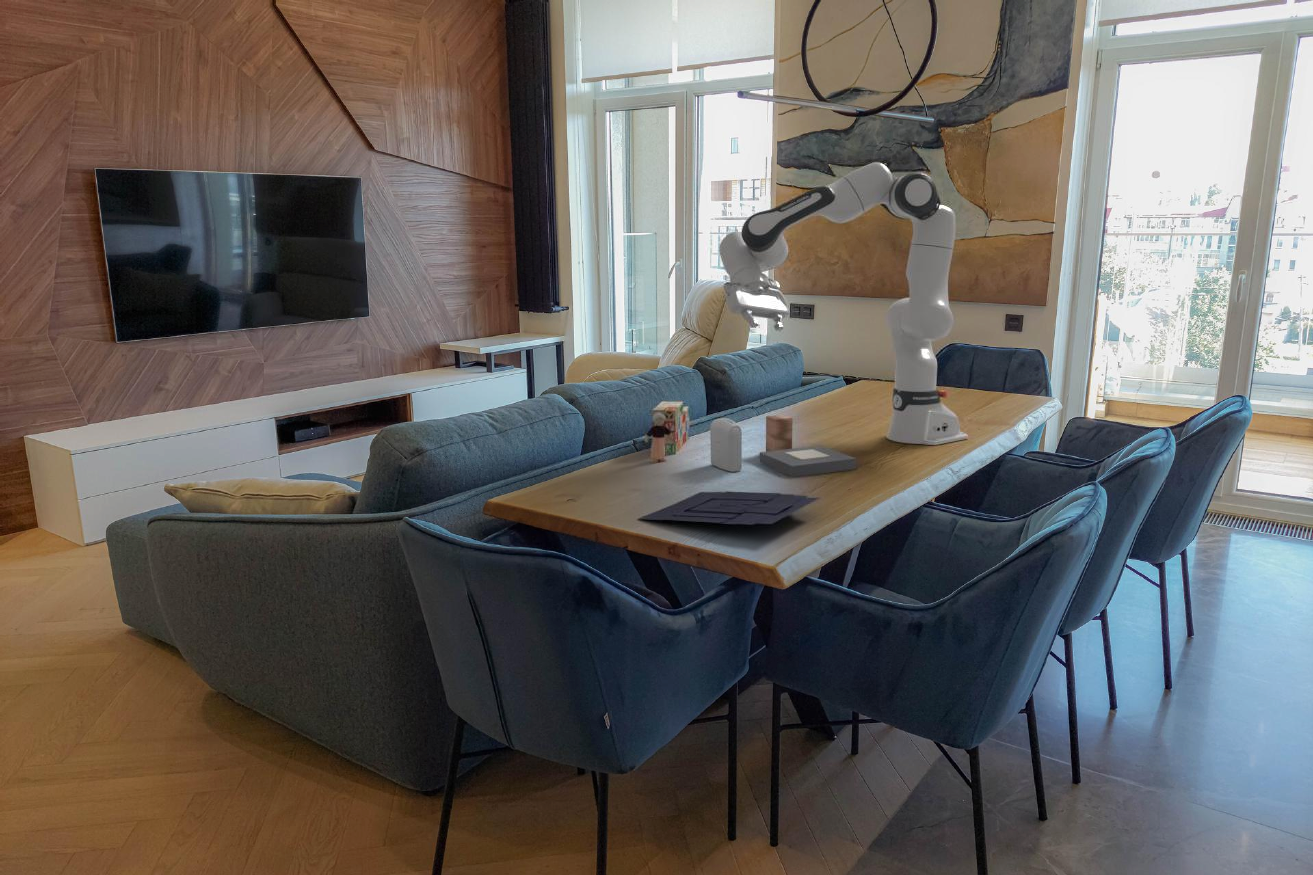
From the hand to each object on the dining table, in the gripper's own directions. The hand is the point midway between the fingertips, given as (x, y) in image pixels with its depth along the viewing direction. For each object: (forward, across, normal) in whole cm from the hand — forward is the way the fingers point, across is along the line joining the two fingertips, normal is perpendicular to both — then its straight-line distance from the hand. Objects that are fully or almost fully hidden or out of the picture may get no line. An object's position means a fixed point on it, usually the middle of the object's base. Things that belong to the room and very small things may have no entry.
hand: (767, 328), depth 235 cm
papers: (+56, -45, -6) cm, 72 cm away
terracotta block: (+30, +2, +14) cm, 33 cm away
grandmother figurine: (+24, -26, +29) cm, 46 cm away
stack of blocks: (+15, -12, +37) cm, 42 cm away
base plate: (+39, -2, +4) cm, 39 cm away
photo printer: (+34, -18, +15) cm, 41 cm away
